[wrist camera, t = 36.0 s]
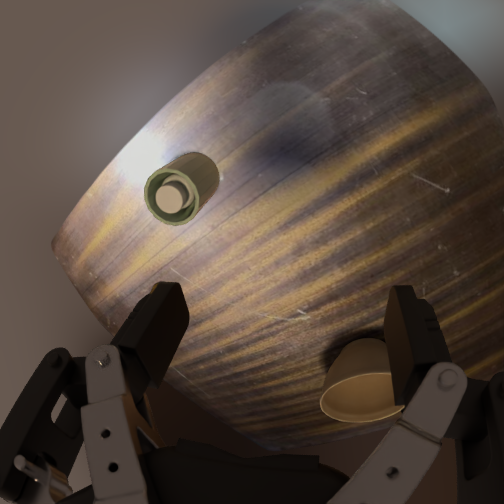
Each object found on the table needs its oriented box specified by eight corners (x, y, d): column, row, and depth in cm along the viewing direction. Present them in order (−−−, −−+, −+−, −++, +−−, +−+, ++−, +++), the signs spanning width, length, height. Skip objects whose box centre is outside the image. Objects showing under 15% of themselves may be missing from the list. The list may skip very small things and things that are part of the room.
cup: (163, 171, 39) (134, 191, 33) (198, 142, 36) (172, 156, 30) (193, 209, 42) (169, 235, 35) (229, 183, 39) (211, 205, 32)
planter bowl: (420, 330, 45) (432, 378, 36) (381, 381, 54) (385, 425, 45) (339, 315, 47) (341, 367, 37) (311, 370, 55) (307, 417, 46)
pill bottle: (206, 161, 37) (182, 179, 30) (210, 193, 39) (189, 217, 33) (175, 164, 38) (148, 182, 31) (181, 194, 40) (155, 218, 34)
